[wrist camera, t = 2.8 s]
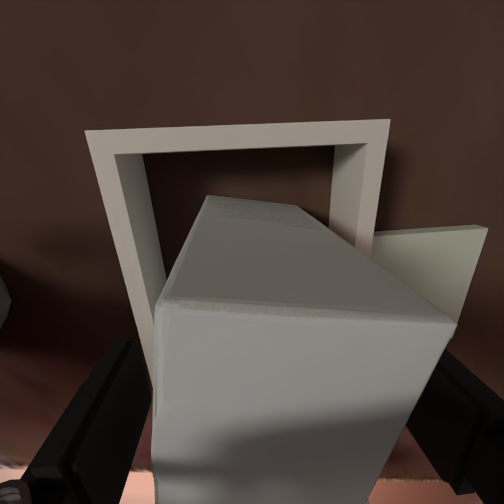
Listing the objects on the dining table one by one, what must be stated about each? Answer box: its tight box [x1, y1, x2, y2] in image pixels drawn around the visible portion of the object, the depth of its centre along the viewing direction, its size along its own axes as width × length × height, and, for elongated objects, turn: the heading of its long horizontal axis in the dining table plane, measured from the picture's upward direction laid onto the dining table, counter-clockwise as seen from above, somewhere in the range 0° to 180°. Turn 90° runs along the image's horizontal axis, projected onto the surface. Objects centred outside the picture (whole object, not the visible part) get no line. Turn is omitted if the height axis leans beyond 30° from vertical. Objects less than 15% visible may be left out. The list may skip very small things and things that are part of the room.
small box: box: [151, 195, 458, 504], centre depth 12 cm, size 8×6×13 cm
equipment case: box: [85, 119, 390, 386], centre depth 18 cm, size 26×14×4 cm, turn 3°
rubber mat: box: [370, 225, 488, 339], centre depth 20 cm, size 10×9×1 cm
